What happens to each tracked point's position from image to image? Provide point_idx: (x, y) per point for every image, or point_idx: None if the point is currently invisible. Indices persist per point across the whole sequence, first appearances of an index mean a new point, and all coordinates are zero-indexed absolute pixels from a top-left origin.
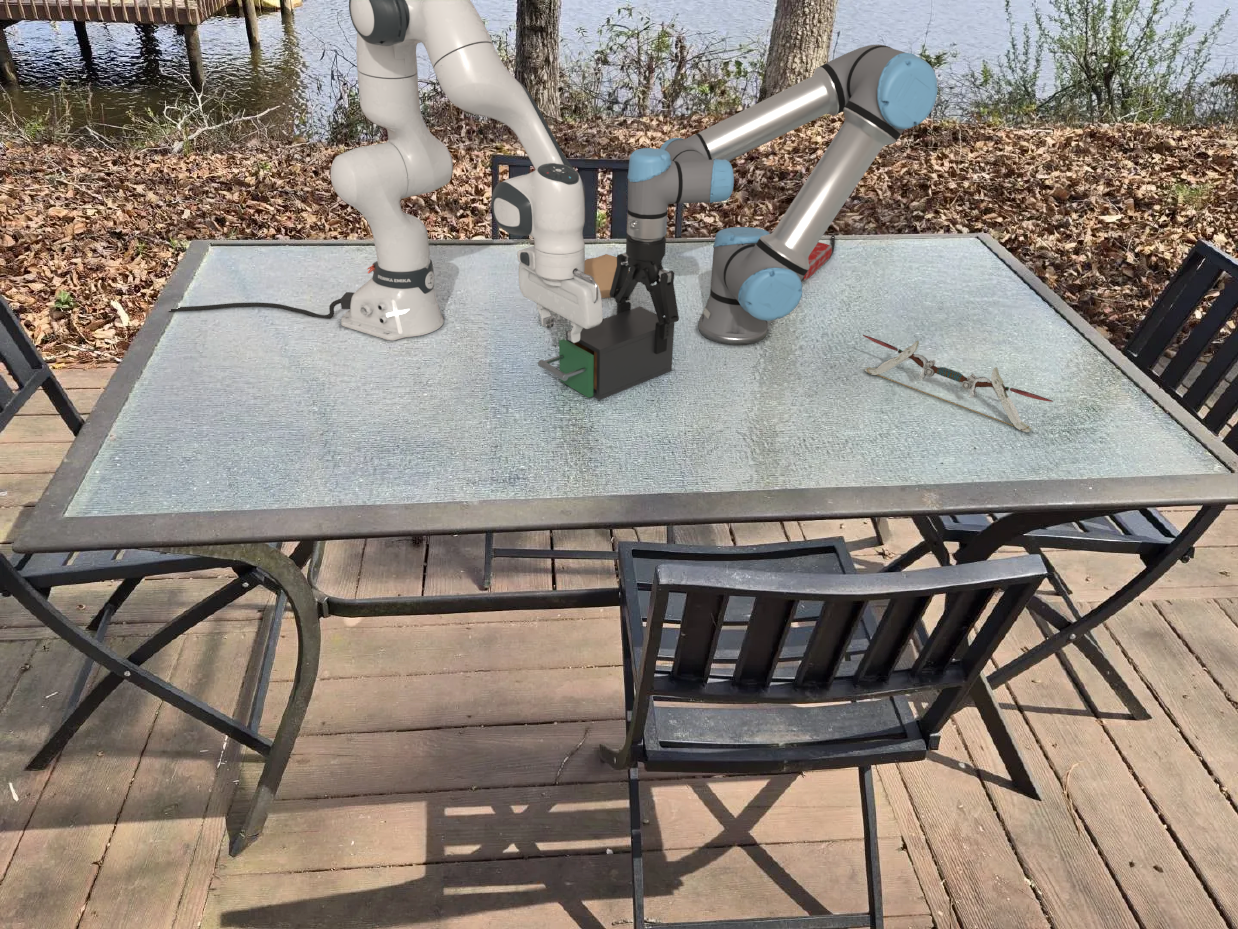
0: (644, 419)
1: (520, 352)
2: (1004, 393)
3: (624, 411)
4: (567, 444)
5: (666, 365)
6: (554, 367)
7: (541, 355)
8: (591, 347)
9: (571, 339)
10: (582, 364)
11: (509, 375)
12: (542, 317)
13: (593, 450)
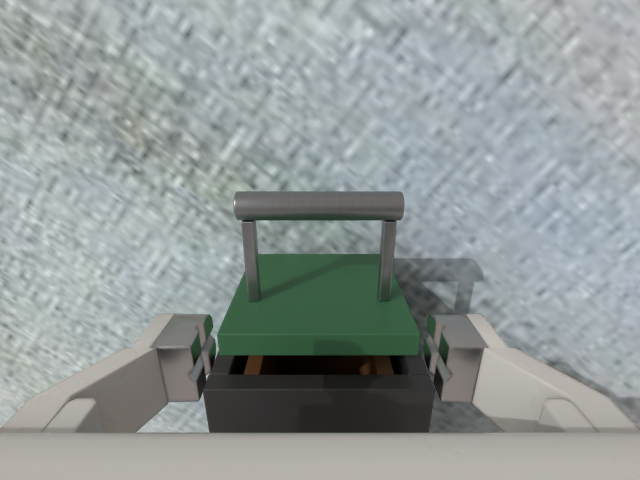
0: (106, 298)
1: (607, 278)
2: None
3: (165, 287)
4: (81, 47)
5: None
6: (313, 213)
7: (545, 309)
8: (260, 382)
9: (164, 320)
10: (266, 305)
11: (536, 171)
12: (495, 350)
13: (16, 91)
